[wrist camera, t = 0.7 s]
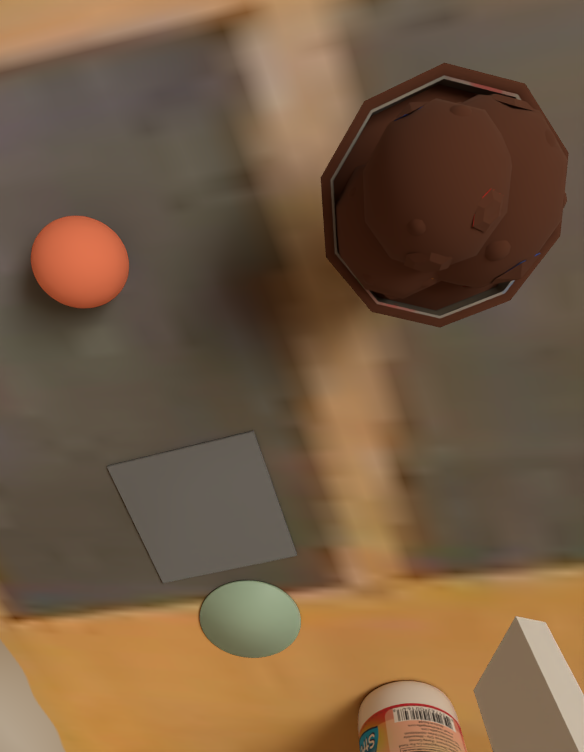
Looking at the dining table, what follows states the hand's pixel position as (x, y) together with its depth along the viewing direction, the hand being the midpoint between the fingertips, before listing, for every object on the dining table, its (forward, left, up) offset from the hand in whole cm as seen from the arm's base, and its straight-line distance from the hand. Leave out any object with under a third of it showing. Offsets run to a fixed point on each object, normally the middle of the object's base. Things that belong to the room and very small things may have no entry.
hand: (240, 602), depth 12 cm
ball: (-8, -11, -21) cm, 25 cm away
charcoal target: (+13, -11, -24) cm, 29 cm away
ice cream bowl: (-6, +9, -24) cm, 27 cm away
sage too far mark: (+25, -11, -24) cm, 36 cm away
